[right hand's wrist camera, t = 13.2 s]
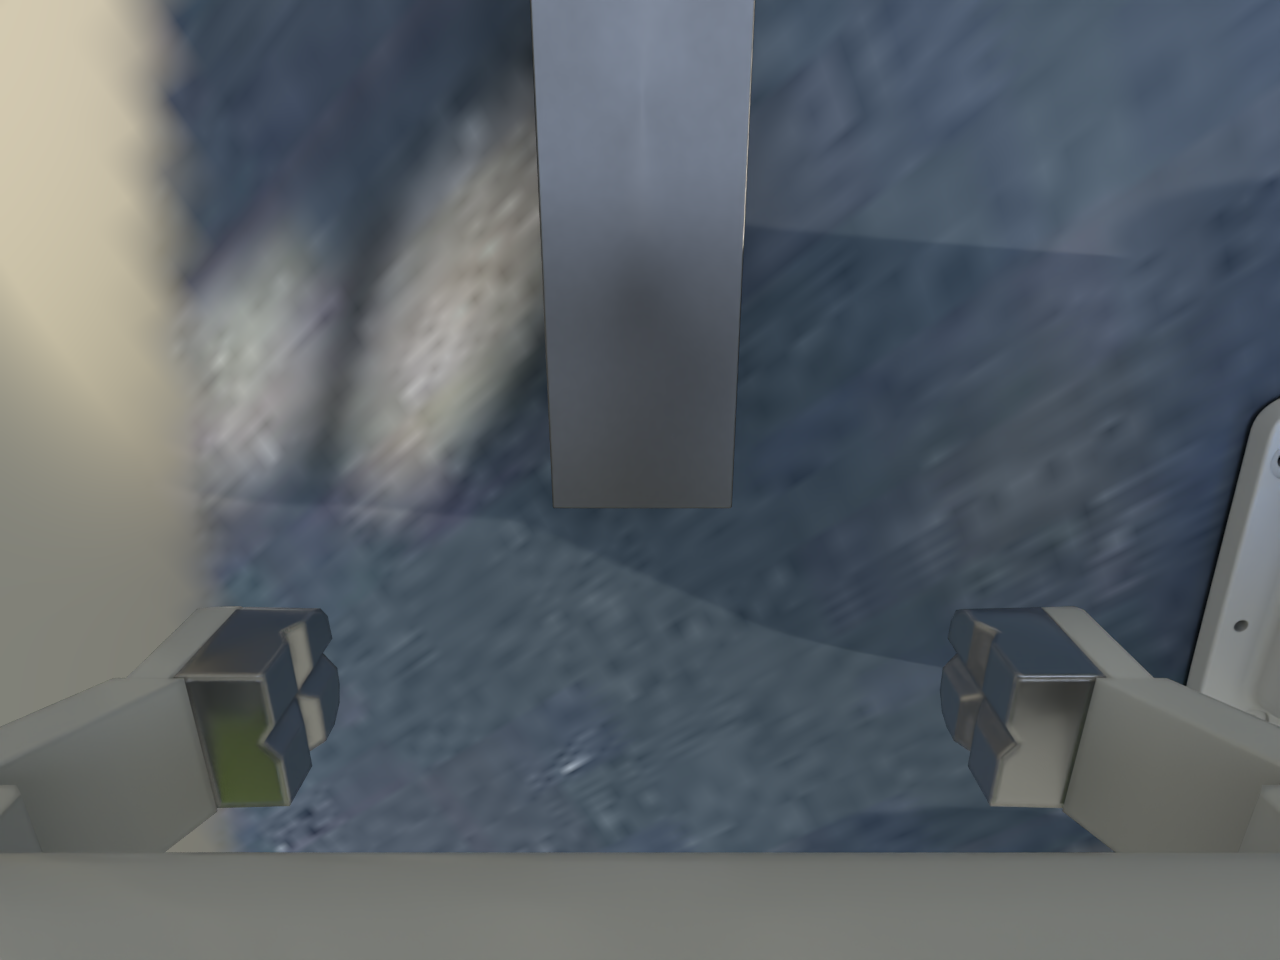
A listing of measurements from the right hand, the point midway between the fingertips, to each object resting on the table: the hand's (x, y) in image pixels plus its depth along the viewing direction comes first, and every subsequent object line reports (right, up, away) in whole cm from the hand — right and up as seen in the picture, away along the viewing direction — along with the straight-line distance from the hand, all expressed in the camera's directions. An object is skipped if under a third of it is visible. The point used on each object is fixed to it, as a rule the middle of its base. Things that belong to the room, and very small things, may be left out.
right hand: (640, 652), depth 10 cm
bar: (0, +15, +18) cm, 23 cm away
